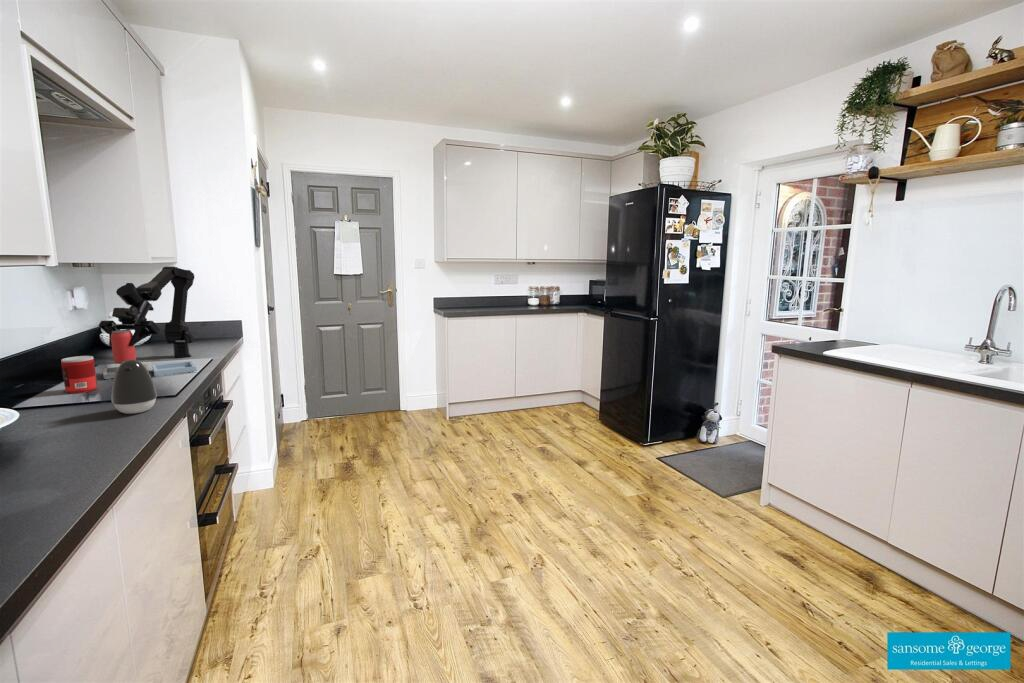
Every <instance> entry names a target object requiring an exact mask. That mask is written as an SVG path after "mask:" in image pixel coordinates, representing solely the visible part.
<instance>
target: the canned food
mask: <svg viewBox="0 0 1024 683" xmlns="http://www.w3.org/2000/svg"><path fill="white" fill-rule="evenodd" d="M60 360H61V361H60V364H61V370H62V376H63V384H64V389H65V392H66V393H67V394H71V393H74V394H83V392H84V393H89V392H92V390H93V391H95V389H96V390H97V388H98V382H97V374H96V373H97V372H96V367H95V366H96V365H95V358H94V356H92V355H79V356H71V357H70V356H69V357H65V358H62V359H60Z"/></svg>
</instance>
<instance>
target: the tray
mask: <svg viewBox="0 0 1024 683" xmlns="http://www.w3.org/2000/svg"><path fill="white" fill-rule="evenodd" d="M151 366H152V373H153V372H154V373H153V375H154V377H155V378H158V376H160V377H166V376H165V375H168V376H172V375H171V374H177V375H182V374H181V373H186V374H188V373H187V372H194V371H197V370H198V369H197V366H196V364H195V363H194V362H193V361H180V362H172V363H171V362H170V363H163V364H162V363H161V364H152V365H151Z"/></svg>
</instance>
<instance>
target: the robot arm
mask: <svg viewBox="0 0 1024 683" xmlns="http://www.w3.org/2000/svg"><path fill="white" fill-rule="evenodd" d="M194 280H195V274H194V273H193V272H192V271H191V269H182V268H180V267H177V266H163V267H162V269H161V270H160V271H159V272H158V273H157V274H156V275H155V276H154V277H153V278H152V279H151V280H150V281H148V282H147V283H146V282H145V283H142V284H140V285H139V286H137V287H136V286H135V284H134V283H133V282H126V284H124V285H122V286H120V287H118V288H117V289H116V291H115V292H116V295H117V296H118V297H119V298H120V299H121V300H122V301H123V302H124V304H126V305H128V306H129V307H114V308H113V310H112V314H111V317H113V318H116V319H118V320H117V321H118V322H119V323H116V322H115V321H114V320H100V322H99V325H98V327H99V328H100V329H101V330H102V331H104V332H105V333H106V334H107V335H108V336H109V339H108V344H109V346H110V347H112V344H111V334H112V331H116V330H131V331H134V333H132V334H133V336H132V338H131V341H130V343H129V345H130V346H133V345H134V346H135V345H136V344H138V343H139V342H140V341H142V340H144V339H146V338H147V337H150V336H152V335H158V334H159V332H160V327H159V326H158V325H157V323H155V321H153V320H148V318H147V314H148V312H149V311H151V312H152V311H154V310H155V309H154V307H153V306H152V303H150V302H157V301H158V300H159V299H160V298H161V296H162V289H164V288H165V287H166V286H167V285H168V284H169V283H171V285H172V287H173V288H174V290H173V302H172V311H171V319H170V321H169V322H166V323H165V325H164V333H163V334H164V337H165V340H166V342H167V344H172V347H173V354H172V357H173V358H174V359H179V358H188V357H192V354H191V353H190V347H189V346H190V345H189V344H192V343H194V335H193V334H191V332H190V331H189V325H188V323H187V322H186V314H187V313H186V312H187V303H188V293H189V290H190V288H191V287H192V286H193V284H194Z"/></svg>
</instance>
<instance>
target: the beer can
mask: <svg viewBox="0 0 1024 683" xmlns="http://www.w3.org/2000/svg"><path fill="white" fill-rule="evenodd" d="M133 334H134V333H133V332H132V330H126V329H120V330H116V331H112V334H111V344H112V346H111V349H112V357H113V362H114V363H115V364H116V365H117V364H119V365H120V364H121V363H122V362H124V361H126V360H137V356H136V354H137V353H136V347H135V344H134V345H133V346H130V345H129V343H130V341H131V338H132V336H133Z"/></svg>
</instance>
